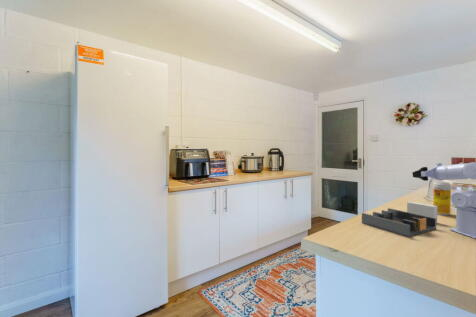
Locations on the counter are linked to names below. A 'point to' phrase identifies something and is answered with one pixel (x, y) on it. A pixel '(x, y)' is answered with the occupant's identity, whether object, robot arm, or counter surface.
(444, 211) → the beer can
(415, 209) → the white rectangular block
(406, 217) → the rack
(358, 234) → the counter surface
